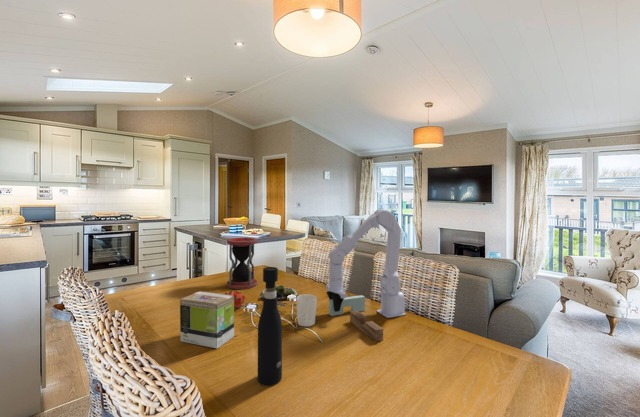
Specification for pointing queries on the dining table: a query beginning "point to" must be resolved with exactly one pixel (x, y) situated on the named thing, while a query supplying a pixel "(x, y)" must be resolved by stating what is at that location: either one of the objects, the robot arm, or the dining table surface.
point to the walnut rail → (366, 326)
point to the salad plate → (282, 292)
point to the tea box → (207, 319)
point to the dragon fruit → (237, 298)
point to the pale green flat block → (348, 304)
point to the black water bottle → (270, 333)
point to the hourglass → (241, 263)
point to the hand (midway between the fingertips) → (335, 309)
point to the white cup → (306, 309)
